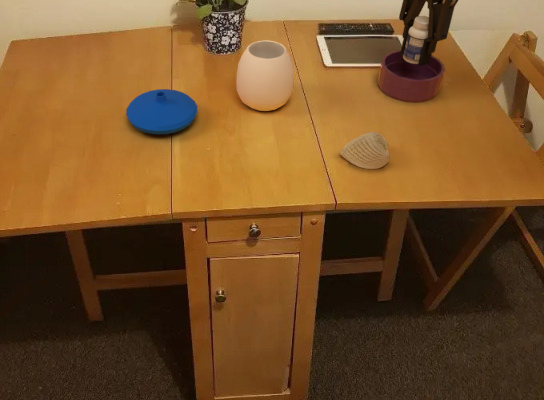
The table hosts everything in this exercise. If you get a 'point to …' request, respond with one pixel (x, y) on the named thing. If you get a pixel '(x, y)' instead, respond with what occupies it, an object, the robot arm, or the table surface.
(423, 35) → the pill bottle
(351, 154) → the seashell
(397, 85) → the bowl
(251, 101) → the white rounded pot
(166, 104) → the blue lid with knob
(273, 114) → the table surface
